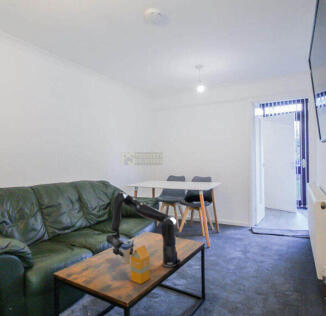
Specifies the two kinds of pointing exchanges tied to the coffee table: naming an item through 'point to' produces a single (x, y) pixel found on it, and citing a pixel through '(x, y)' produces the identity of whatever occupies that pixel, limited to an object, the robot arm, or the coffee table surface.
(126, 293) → the coffee table surface
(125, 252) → the jar
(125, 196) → the robot arm
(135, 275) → the orange juice
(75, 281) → the coffee table surface
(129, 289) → the coffee table surface
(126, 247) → the lid
